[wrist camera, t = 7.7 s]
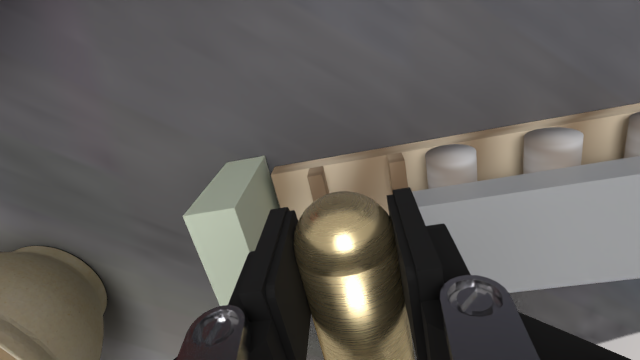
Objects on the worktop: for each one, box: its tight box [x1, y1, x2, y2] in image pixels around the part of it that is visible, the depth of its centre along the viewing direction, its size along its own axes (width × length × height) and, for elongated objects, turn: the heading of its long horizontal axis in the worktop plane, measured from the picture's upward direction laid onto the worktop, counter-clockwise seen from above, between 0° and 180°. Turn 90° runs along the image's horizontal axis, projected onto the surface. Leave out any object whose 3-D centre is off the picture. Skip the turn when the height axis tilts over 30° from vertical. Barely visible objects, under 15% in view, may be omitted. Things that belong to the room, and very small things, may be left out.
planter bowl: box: [0, 246, 107, 360], centre depth 28 cm, size 16×16×11 cm
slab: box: [412, 156, 640, 293], centre depth 21 cm, size 16×7×2 cm, turn 102°
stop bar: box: [183, 156, 280, 306], centre depth 25 cm, size 3×12×8 cm, turn 12°
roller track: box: [271, 103, 640, 220], centre depth 25 cm, size 27×10×4 cm, turn 102°
